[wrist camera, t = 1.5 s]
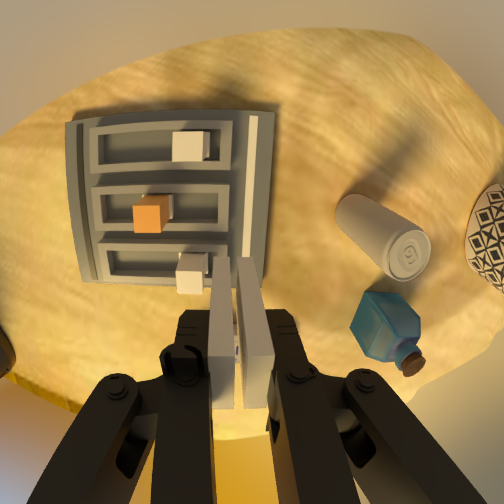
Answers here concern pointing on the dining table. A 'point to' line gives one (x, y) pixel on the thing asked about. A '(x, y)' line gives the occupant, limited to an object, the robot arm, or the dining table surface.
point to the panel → (167, 181)
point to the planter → (487, 237)
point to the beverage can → (384, 236)
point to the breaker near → (190, 146)
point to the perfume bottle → (389, 331)
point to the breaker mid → (153, 212)
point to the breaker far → (191, 272)
